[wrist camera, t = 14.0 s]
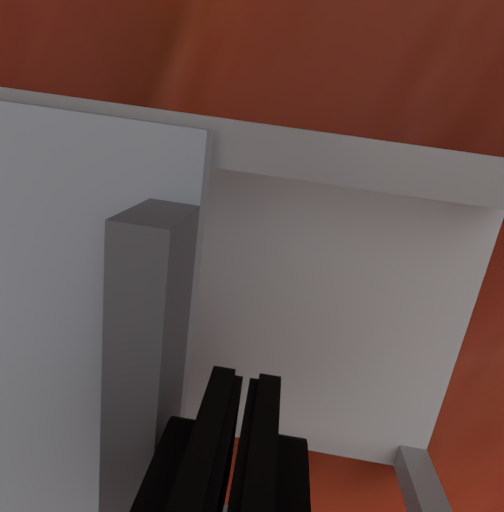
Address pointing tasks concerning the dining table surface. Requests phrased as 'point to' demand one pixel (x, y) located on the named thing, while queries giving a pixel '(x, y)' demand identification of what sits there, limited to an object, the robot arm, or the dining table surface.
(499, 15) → the dining table surface
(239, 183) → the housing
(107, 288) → the lid
